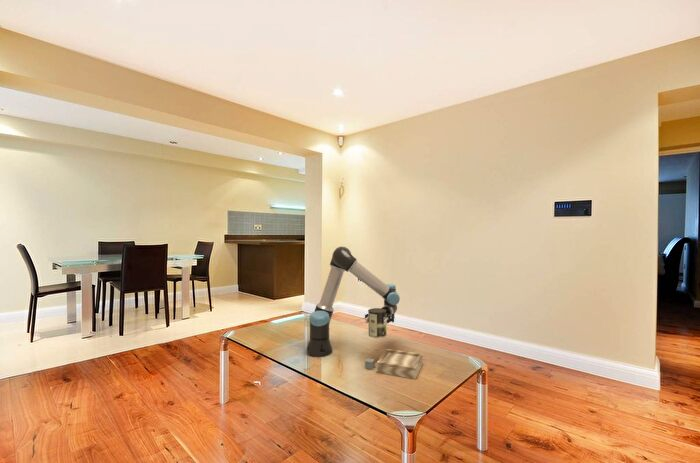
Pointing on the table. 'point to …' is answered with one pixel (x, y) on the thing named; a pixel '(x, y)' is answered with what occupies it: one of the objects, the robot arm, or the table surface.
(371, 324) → the coffee can
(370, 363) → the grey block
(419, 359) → the light wood tray
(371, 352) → the table surface
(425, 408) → the table surface
